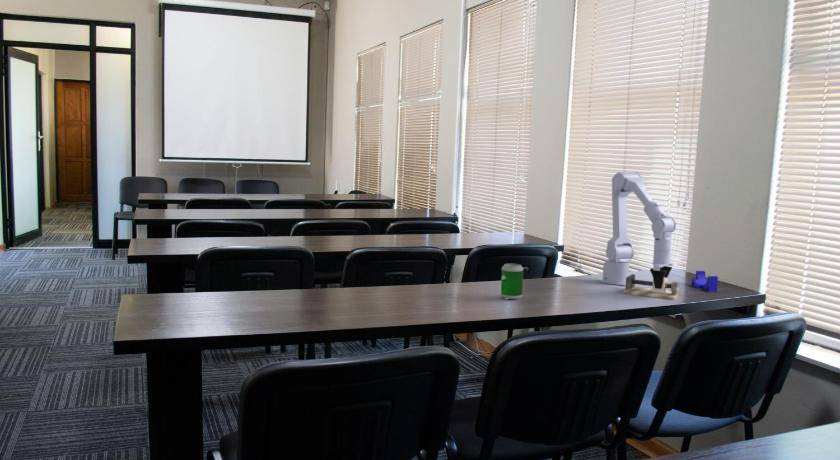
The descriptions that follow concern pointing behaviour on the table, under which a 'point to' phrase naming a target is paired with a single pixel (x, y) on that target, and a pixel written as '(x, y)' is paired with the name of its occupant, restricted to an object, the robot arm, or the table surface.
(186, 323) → the table surface
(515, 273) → the soda can
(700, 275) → the blue stepped block
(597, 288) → the table surface
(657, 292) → the cord end block
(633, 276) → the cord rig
